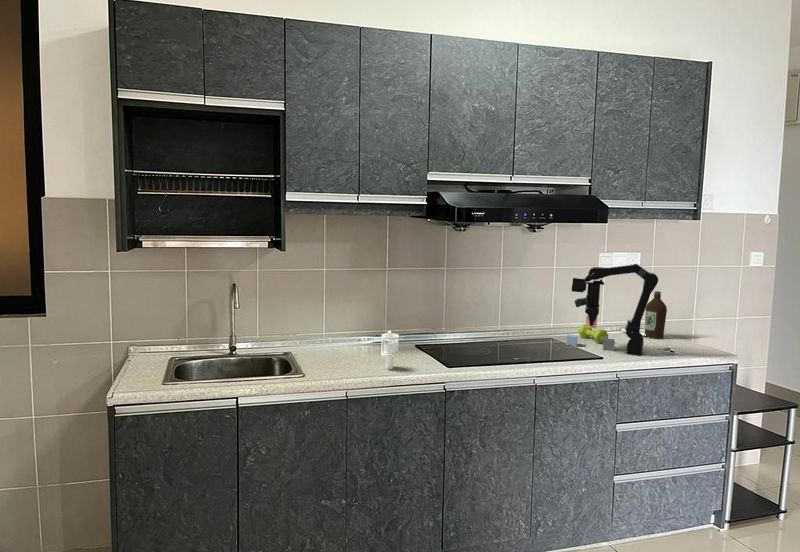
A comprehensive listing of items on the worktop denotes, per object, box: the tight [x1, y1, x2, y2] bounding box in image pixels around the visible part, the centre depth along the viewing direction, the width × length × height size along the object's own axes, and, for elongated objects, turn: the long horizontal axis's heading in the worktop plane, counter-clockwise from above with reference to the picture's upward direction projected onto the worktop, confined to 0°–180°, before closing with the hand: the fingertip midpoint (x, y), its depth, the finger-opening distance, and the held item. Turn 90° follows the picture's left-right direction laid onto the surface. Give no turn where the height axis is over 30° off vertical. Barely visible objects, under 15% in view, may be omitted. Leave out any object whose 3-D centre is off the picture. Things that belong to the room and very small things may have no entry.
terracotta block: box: [585, 315, 598, 329], centre depth 290 cm, size 5×5×5 cm
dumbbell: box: [577, 323, 609, 345], centre depth 311 cm, size 16×8×7 cm, turn 20°
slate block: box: [565, 333, 579, 348], centre depth 298 cm, size 5×5×5 cm
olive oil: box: [644, 290, 668, 340], centre depth 322 cm, size 11×11×25 cm
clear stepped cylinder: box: [380, 330, 400, 370], centre depth 246 cm, size 7×7×15 cm
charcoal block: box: [602, 337, 615, 352], centre depth 292 cm, size 5×5×5 cm
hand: (591, 324), depth 290 cm, fingers closed on terracotta block, 5 cm apart
